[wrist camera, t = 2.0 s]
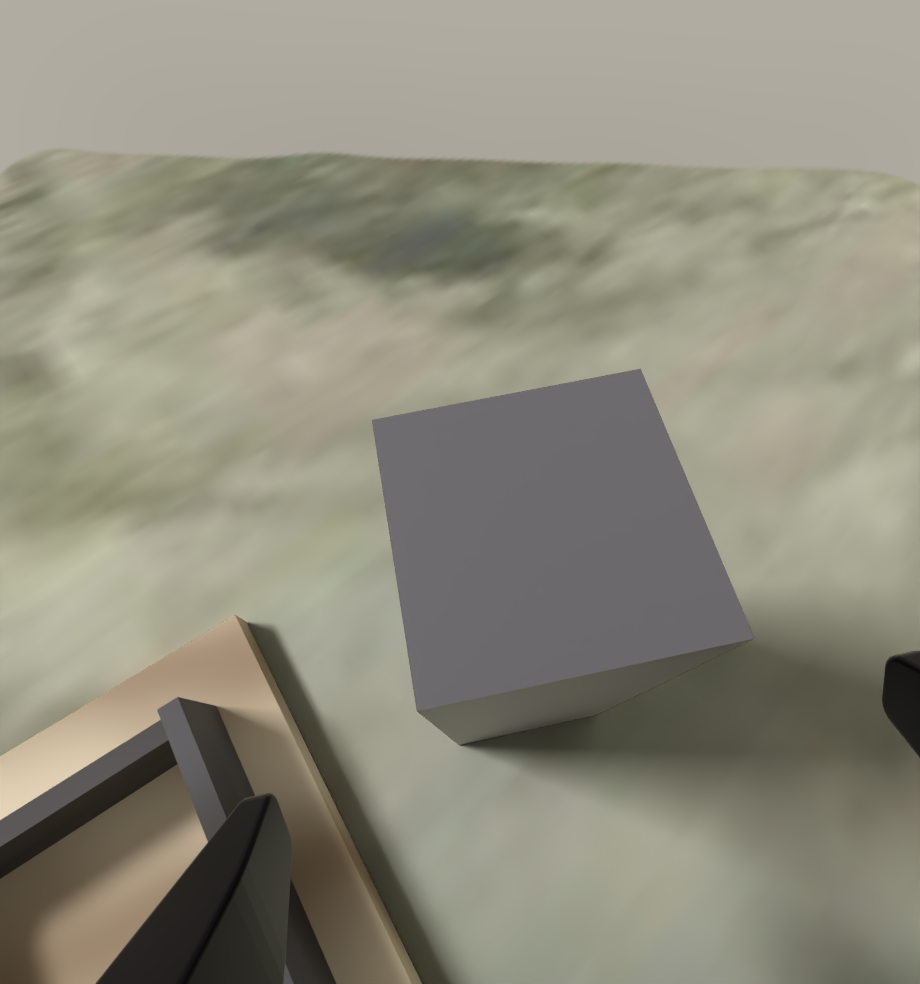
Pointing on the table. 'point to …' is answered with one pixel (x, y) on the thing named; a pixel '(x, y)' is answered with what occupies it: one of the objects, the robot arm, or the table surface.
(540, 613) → the plug block
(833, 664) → the table surface
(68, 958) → the socket board
